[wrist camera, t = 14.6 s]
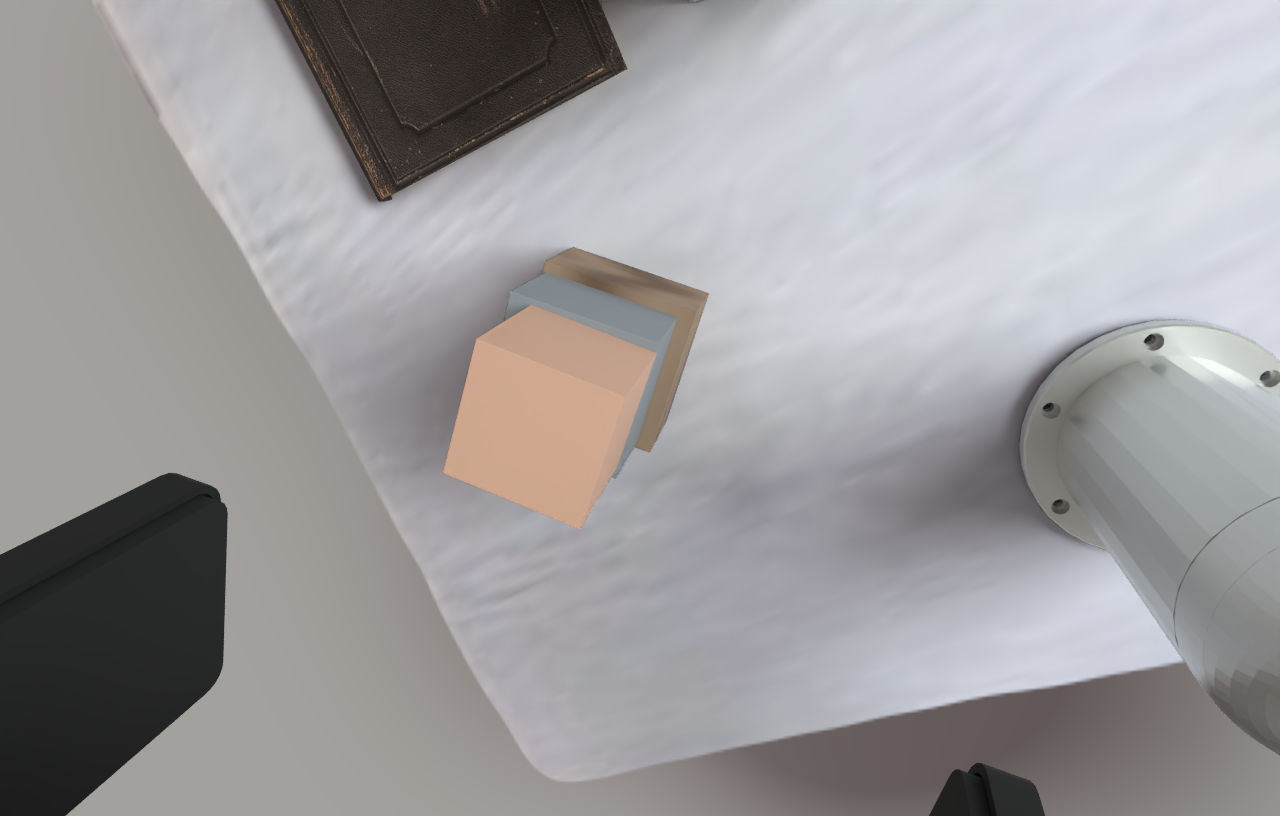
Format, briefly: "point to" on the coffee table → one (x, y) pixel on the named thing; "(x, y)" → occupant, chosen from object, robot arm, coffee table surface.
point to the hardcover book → (445, 72)
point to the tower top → (603, 327)
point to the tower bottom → (650, 294)
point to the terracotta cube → (547, 412)
